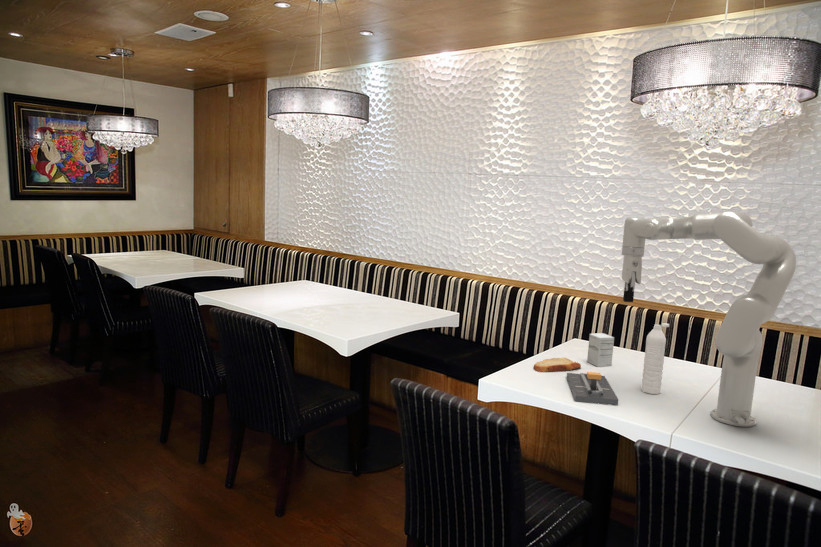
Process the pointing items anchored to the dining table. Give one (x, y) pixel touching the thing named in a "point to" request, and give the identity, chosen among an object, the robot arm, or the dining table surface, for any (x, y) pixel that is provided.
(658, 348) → the water bottle
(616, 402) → the console
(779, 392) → the dining table surface
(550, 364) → the bread slice
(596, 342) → the supplement box
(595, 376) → the fader tab
